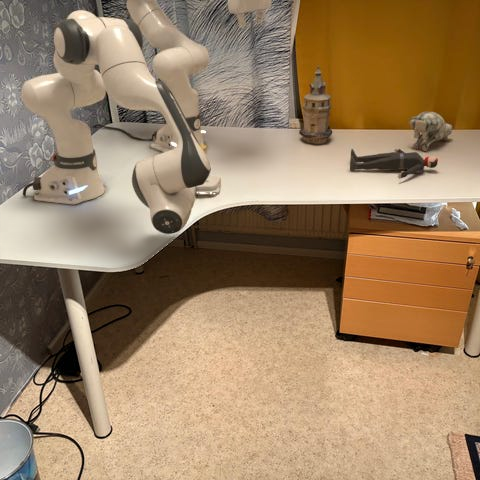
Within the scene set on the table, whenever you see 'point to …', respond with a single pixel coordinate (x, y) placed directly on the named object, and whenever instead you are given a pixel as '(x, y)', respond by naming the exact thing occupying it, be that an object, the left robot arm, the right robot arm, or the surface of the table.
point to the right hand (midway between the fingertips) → (250, 25)
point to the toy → (393, 162)
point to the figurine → (429, 128)
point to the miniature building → (316, 112)
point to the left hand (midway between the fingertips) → (187, 174)
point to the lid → (204, 148)
